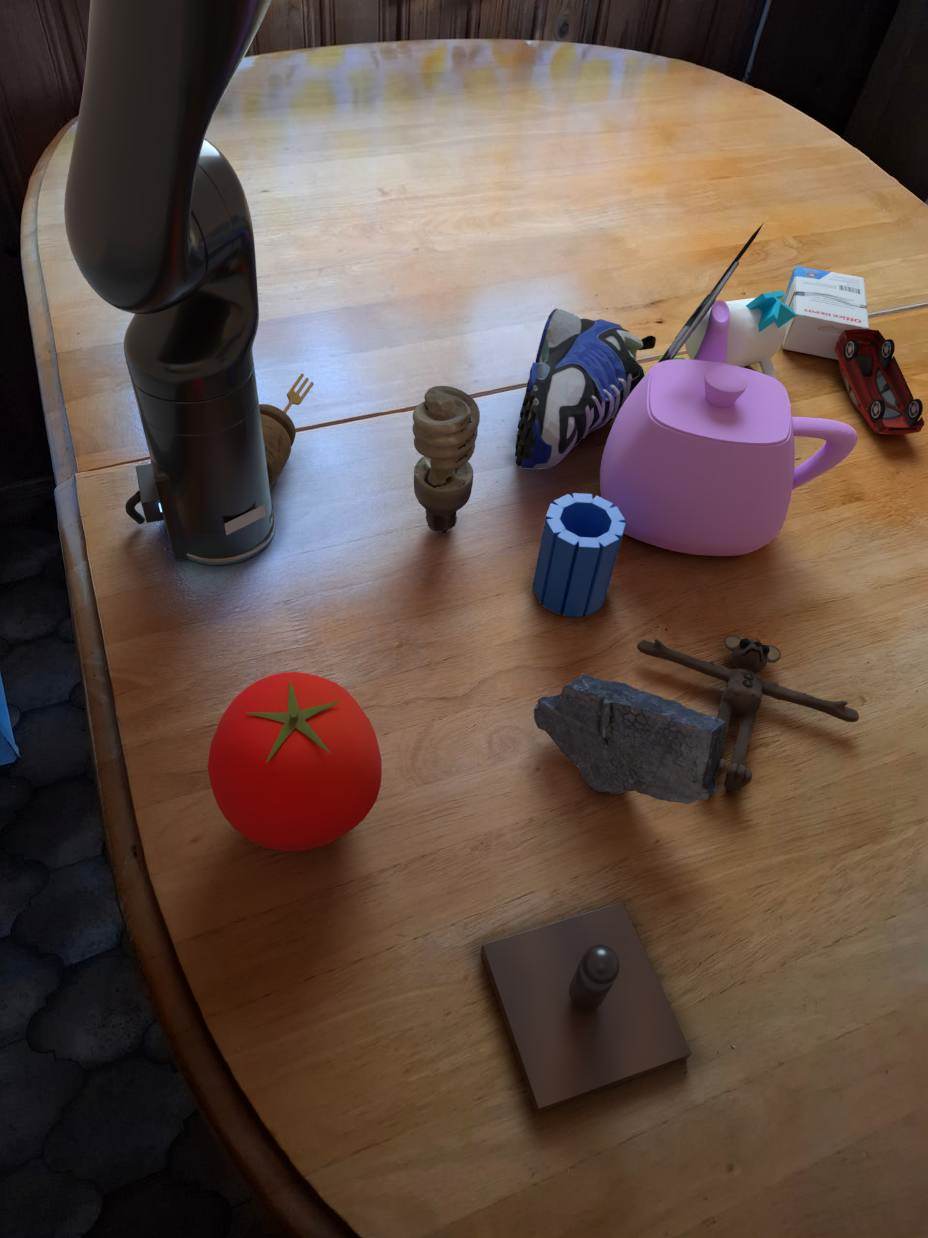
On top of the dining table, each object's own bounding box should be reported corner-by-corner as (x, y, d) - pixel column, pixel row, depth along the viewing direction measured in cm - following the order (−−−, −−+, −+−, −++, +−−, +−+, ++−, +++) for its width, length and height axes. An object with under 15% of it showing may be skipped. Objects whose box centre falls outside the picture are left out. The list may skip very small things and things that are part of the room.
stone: (512, 771, 68) (529, 693, 61) (537, 710, 72) (555, 629, 64) (694, 837, 66) (735, 764, 58) (709, 770, 69) (750, 693, 62)
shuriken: (589, 477, 89) (715, 308, 73) (580, 471, 89) (704, 300, 73) (659, 372, 105) (775, 213, 89) (652, 366, 105) (767, 207, 89)
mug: (730, 277, 92) (781, 272, 100) (662, 330, 98) (715, 321, 106) (785, 379, 91) (832, 366, 99) (713, 425, 98) (763, 409, 106)
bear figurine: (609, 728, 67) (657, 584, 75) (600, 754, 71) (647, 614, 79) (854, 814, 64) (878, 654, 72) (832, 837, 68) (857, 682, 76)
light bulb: (462, 556, 82) (474, 422, 71) (403, 545, 83) (405, 410, 71) (473, 515, 86) (487, 381, 74) (417, 504, 86) (422, 369, 75)
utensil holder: (252, 505, 86) (296, 429, 94) (287, 475, 82) (331, 398, 90) (200, 465, 84) (250, 390, 92) (234, 432, 80) (284, 356, 88)
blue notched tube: (550, 624, 78) (565, 554, 71) (523, 569, 82) (535, 499, 75) (617, 609, 79) (638, 540, 73) (588, 557, 83) (605, 486, 77)
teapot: (817, 593, 82) (887, 463, 70) (585, 551, 83) (617, 417, 72) (803, 438, 97) (859, 310, 85) (606, 404, 98) (635, 274, 87)
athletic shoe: (513, 411, 80) (648, 441, 79) (556, 281, 98) (666, 304, 97) (498, 498, 87) (622, 526, 86) (540, 361, 105) (643, 383, 104)
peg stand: (535, 1114, 53) (555, 1078, 47) (480, 951, 59) (491, 900, 53) (687, 1059, 56) (724, 1019, 50) (619, 908, 62) (645, 855, 56)
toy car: (838, 320, 101) (819, 353, 105) (889, 423, 94) (867, 454, 98) (883, 317, 102) (863, 350, 106) (938, 419, 95) (913, 450, 99)
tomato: (195, 792, 65) (162, 687, 55) (327, 722, 70) (317, 613, 60) (273, 919, 60) (251, 826, 50) (409, 833, 64) (414, 733, 55)
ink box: (781, 300, 115) (780, 350, 108) (795, 263, 111) (795, 313, 104) (849, 313, 114) (853, 365, 107) (865, 277, 111) (870, 328, 103)
